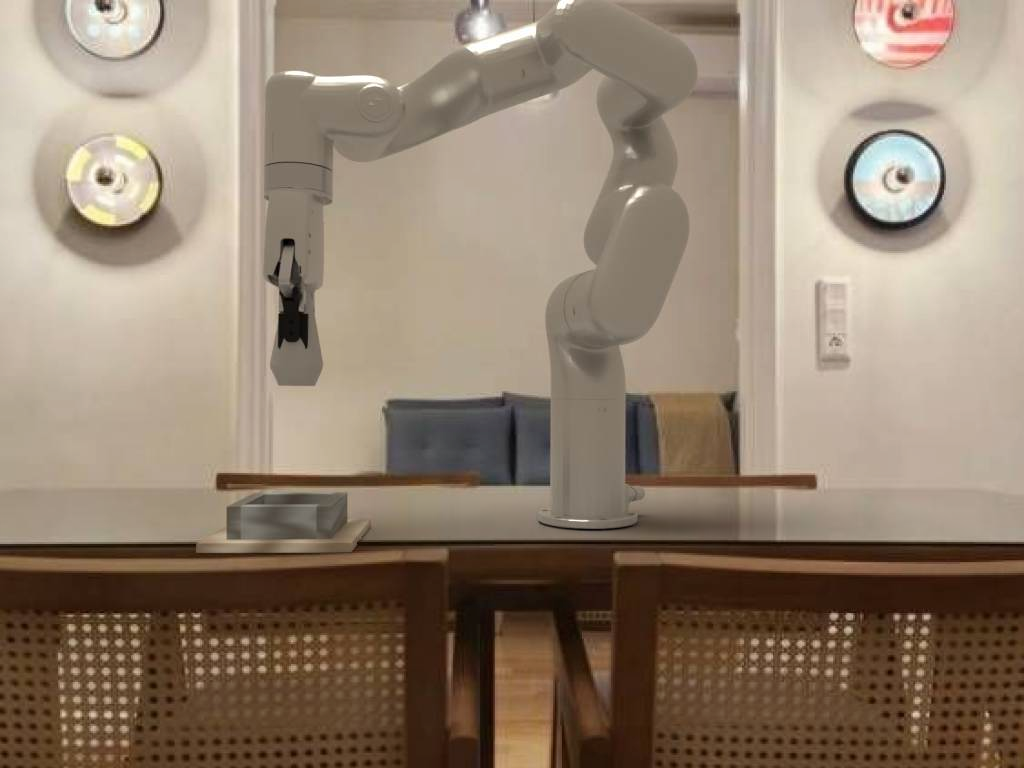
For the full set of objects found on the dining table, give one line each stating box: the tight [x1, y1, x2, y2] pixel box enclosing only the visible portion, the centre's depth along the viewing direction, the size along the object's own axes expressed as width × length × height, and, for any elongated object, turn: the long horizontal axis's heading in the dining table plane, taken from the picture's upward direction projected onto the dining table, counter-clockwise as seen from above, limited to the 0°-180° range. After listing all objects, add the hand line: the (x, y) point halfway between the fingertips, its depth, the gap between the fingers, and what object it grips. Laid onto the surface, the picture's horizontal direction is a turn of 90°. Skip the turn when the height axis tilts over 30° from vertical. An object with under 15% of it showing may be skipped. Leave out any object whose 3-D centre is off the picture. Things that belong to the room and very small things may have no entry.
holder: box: [195, 491, 372, 554], centre depth 95 cm, size 16×15×4 cm
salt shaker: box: [269, 272, 324, 387], centre depth 95 cm, size 6×6×13 cm
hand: (296, 348), depth 95 cm, fingers closed on salt shaker, 3 cm apart
